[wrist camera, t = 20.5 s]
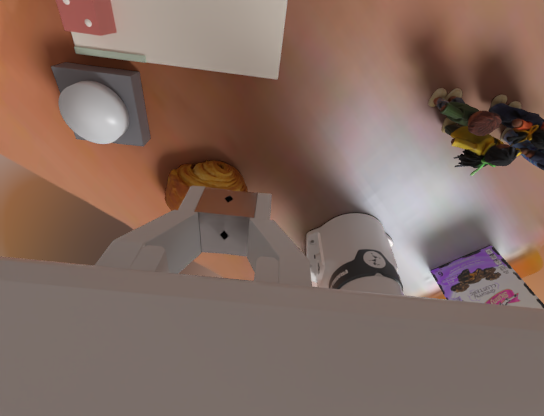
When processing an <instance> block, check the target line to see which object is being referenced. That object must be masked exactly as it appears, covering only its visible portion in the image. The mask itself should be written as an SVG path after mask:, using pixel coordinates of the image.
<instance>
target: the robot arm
mask: <svg viewBox="0 0 544 416" xmlns="http://www.w3.org/2000/svg"><path fill="white" fill-rule="evenodd" d="M271 198H272V195H271V194H269V193H254V192H242V191H232V190H226V189H219V188H211V187H203V186H191V187H190V189H189V190H188V192H187V194H186V196H185V198H184V200H183V202H182V203H181V205H180V207H179V209H178V210H173V211H171V212H169V213H167V214H165V215H163V216H161V217H159V218H157V219H155V220H153V221H151V222H149V223H147V224H145V225H143V226H141V227H139V228H137V229H135V230H133V231H131V232H129V233H127V234H125V235H123V236H121V237H119V238H117V239H115V240H113V242H112V243H111V244H110V246H109V247H108V248H107V250H106V251H105V252H104V254H103V255H102V256H101V257H100V259H99V260H98V262H97V263H96V264H95V266H93V265H82V264H72V263H62V262H51V261H41V260H31V259H20V258H10V257H0V416H544V309H539V308H529V307H518V306H508V305H497V304H487V303H477V302H466V301H456V300H446V299H435V298H425V297H414V296H404V294H403V286H402V283H401V280H400V277H399V274H397V270H398V267H397V264H396V261H395V258H394V255H393V252H392V249H391V247H392V246H393V241H392V239H391V238H390V237H389V236H388V235H387V234H386V233H385V231H384V228H383V226H382V224H381V223H380V222H379V221H378V220H377V219H376V218H374V217H372V216H370V215H367V214H362V213H350V214H344V215H341V216H338V217H335V218H333V219H331V220H330V221H328V222H327V223H325V224H324V225H323V226H321V227H320V228H317V229H314V230H311V231H309V232H308V233H307V234H306V256H305V255H304V254H303V253H302V252H301V251H300V249H299V248H298V247H297V246H296V245H295V244H294V243H293V241H292V240H291V239H290V238H289V237H288V236H287V235H286V234H285V232H284V231H283V230H282V229H281V228H280V227H279V226H278V224H277V223H276V222H275V221H274V220H270V213H271ZM311 240H312V241H311ZM201 252H209V253H222V254H231V255H239V256H247V259H248V260H249V262H250V264H251V266H252V268H253V270H254V272H255V277H254V281H249V280H239V279H228V278H217V277H206V276H197V275H186V274H178V273H179V272H180V271H182V270H183V269H184V268H185V267H186V266H187V265H188V264H189V263H191V262H192V261H193V260H194V259H195V258H196V257H197V256H198V255H200V254H201ZM311 281H313V282H316V283H317V286H318V287H312V282H311Z"/></svg>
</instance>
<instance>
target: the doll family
mask: <svg viewBox="0 0 544 416" xmlns="http://www.w3.org/2000/svg"><path fill="white" fill-rule="evenodd" d="M461 97H462V91H461V89H459V88H457V89H454V90H452V91H451V92H450V93H449V94H448V95H447V91H446V90H445V89H443V88H439V89H437V90H436V91H435V92H434V94H433V95H432V97H431V98H430V100H429V103H428V104H429V106H431V107H435V106H437V107H438V109H440V110H441V111H440V113H442V114H444V115H446V116H447V118H446V119H445V120H444V122H443V126H442V132H443V133H447V134H449V135H451V137H452V138H454V139H452V141H451V143H452V146H455V147H459V148H462V149H465V151H463V153H464V155H463V154H461V155H460V156H457V157H455V158H459V160H461V162H460V163H458V164H460V165H456V166H455V167H462V166H471V167H473V168H478V169H476V170H475V171H473V172H472V173H471V174H470V175H474V174H475V173H476V172H477V171H478V170H480V169H481V168H482V167H484V166H486V165H488V164H489V165H491V166H492V167H495V166H507V165H509V164H510V163H511V162H512V161H513V160H514V159H515V158H516V157H517V156H519V155H522V156H523V157H524V158H525V159H526V160H528V161H529V162H531V163H532V164H534V165H535V166H537V167H539V168H540V169H542V170H544V119H542V118H541V117H540V116H539V115H538V114H536V113H531V112H527V111H525V110H523V109H521V103H520V102H518V101H514V102H512V103H510V104H509V105H506V104H505V103H506V102H507V96H506V95H499V96H497V97H495V98H494V99H493V101H492V104H491V108H490V109H489V112H488V111H479V110H478V109H476V108H473V107H471V106H469V105H467V104H465V102H464V101H463V99H462V98H461ZM456 123H458V124H457V125H455V124H456ZM500 123H501V124H503V125H504V126H506V127H507V128H506V129H505V130H504V132H503V133H502V135H501V137H500V140H501V141H500V140H498V139H496V138H494V137H492V136H491V135H489V133H491V132H492V131H493V130H495V129H496V128H498V127H499V125H500ZM502 141H506V142H507V143H508V144H509V145H510V146H509V145H506V144H504V143H503V142H502ZM455 158H454V159H455Z"/></svg>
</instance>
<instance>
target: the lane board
mask: <svg viewBox="0 0 544 416" xmlns="http://www.w3.org/2000/svg"><path fill="white" fill-rule="evenodd" d="M287 1H288V0H111V5H112V10H113V15H114V20H115V26H116V31H117V33H112V34H107V35H102V36H99V35H92V34H85V33H77V32H71V34H72V37H73V41H74V44H75V46H74V49H75V52H76V54H83V55H90V56H98V57H106V58H113V59H121V60H128V61H136V62H144V63H146V62H148V63H155V64H163V65H171V66H178V67H186V68H193V69H201V70H209V71H216V72H224V73H231V74H239V75H247V76H254V77H262V78H269V79H277V80H278V74H279V66H280V58H281V50H282V41H283V33H284V25H285V17H286V9H287Z"/></svg>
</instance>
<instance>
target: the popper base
mask: <svg viewBox="0 0 544 416" xmlns="http://www.w3.org/2000/svg"><path fill="white" fill-rule="evenodd" d="M51 68H52V71H53V74H54V77H55V79H56V82H57V85H58V88H59V91H60V94H61V92H62V91H63V90H64V89H65V88H66V87H68V86H70V85H73V84H75V83H78V82H80V81H95V82H98V83H101V84H103V85H105V86H107V87H108V88H110V89H111V90H113V91H114V92H115V93H116V94H117V95H118V96H119V97H120V99H121V100H122V101H123V103H124V104H125V106H126V108H127V111H128V114H129V125H128V128H127V130H126V132H125V133H124V134H123V135H121V136H120V137H119V138H118V139H117V140H116V141H114V142H112V143H117V144H126V145H135V146H144V145H145V144H146V143H147V142H148V141H149V140H150V139H151V138H150V132H149V126H148V120H147V114H146V108H145V102H144V96H143V90H142V84H141V78H140V72H138V71H130V70H122V69H114V68H106V67H99V66H91V65H83V64H75V63H68V62H64V63H61V64H57V65H54V66H51ZM74 134H75V137H76V139H81V140H86V139H84V138H82V137H80V136H79V135H78V134H76V133H75V132H74Z"/></svg>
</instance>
